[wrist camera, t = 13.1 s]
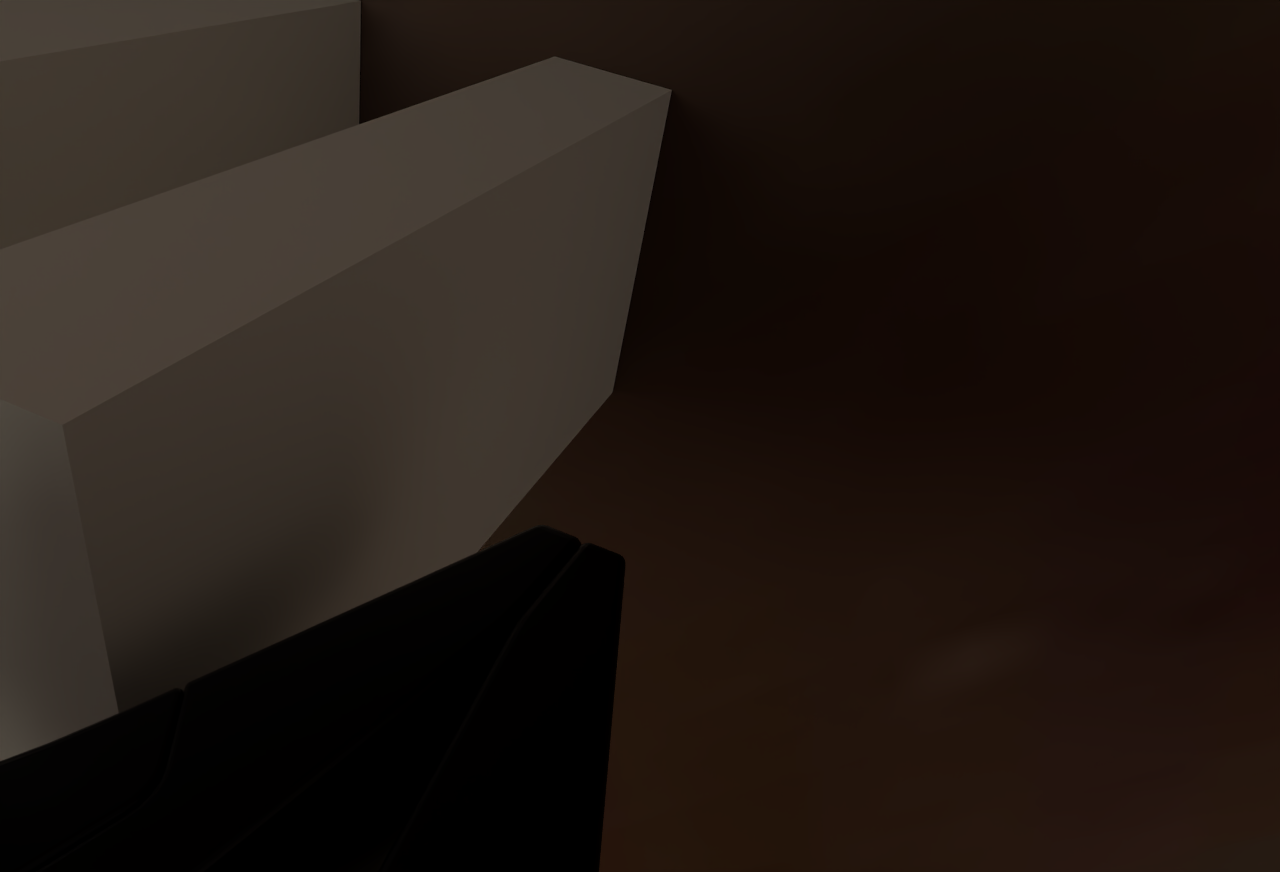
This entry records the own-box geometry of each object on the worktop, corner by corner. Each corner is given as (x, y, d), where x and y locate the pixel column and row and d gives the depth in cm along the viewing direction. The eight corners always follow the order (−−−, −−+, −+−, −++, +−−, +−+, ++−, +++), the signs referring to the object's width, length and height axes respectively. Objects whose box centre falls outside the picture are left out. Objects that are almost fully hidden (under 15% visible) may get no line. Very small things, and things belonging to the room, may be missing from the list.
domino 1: (671, 90, 13) (62, 424, 5) (612, 392, 16) (159, 925, 8) (555, 56, 13) (-196, 318, 5) (516, 357, 16) (-12, 832, 8)
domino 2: (360, 0, 14) (-576, 157, 6) (356, 300, 17) (-284, 687, 9) (260, -29, 14) (-754, 83, 6) (271, 269, 17) (-421, 614, 9)
